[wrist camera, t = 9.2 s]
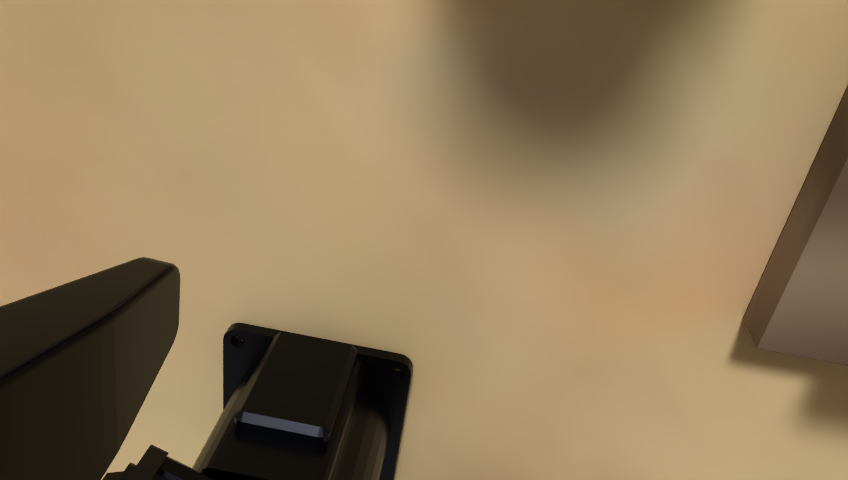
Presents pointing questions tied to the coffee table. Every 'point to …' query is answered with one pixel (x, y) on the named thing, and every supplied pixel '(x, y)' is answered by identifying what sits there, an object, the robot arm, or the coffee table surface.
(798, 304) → the keeper plate
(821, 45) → the coffee table surface
